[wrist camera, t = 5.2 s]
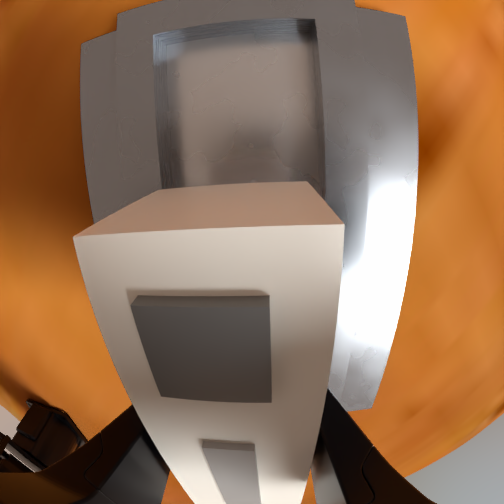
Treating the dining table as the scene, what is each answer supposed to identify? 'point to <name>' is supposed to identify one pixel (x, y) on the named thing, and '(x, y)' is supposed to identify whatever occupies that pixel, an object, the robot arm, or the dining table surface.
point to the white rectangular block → (222, 329)
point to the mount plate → (270, 133)
